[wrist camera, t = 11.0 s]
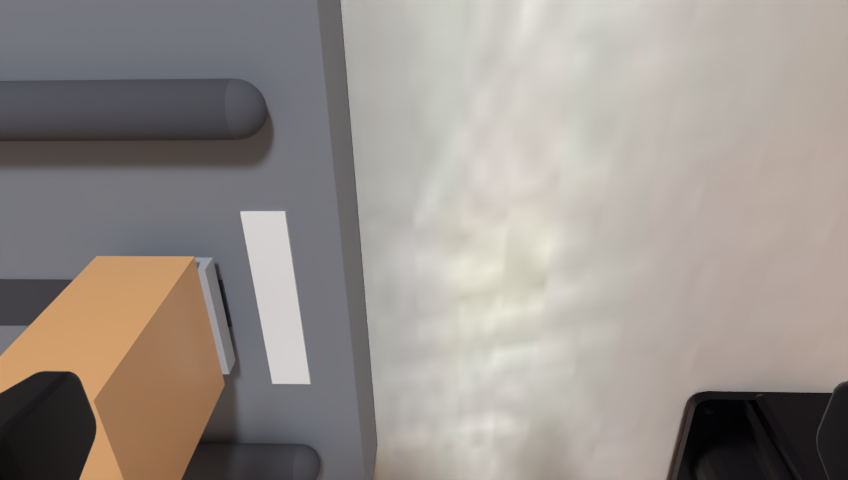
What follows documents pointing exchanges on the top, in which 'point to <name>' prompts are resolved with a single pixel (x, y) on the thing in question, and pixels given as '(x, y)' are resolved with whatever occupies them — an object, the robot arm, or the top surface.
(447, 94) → the top surface
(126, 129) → the grey slider track
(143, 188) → the panel
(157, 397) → the breaker handle
